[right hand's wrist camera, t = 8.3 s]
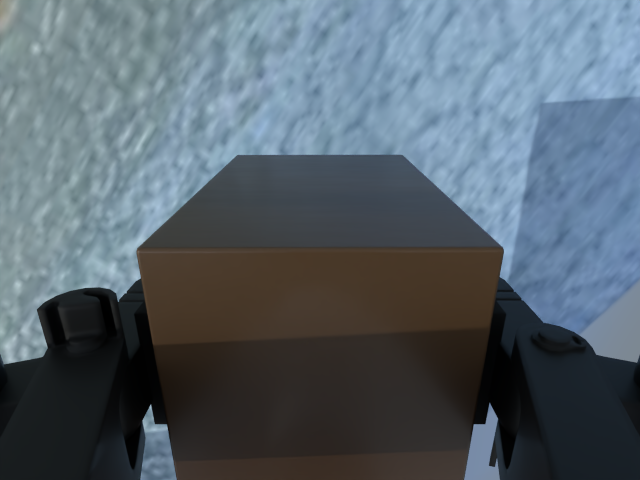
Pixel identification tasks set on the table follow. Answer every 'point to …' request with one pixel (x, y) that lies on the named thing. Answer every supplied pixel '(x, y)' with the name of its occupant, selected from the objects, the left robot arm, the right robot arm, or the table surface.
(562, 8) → the table surface
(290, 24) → the table surface
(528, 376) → the right robot arm
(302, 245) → the bar
